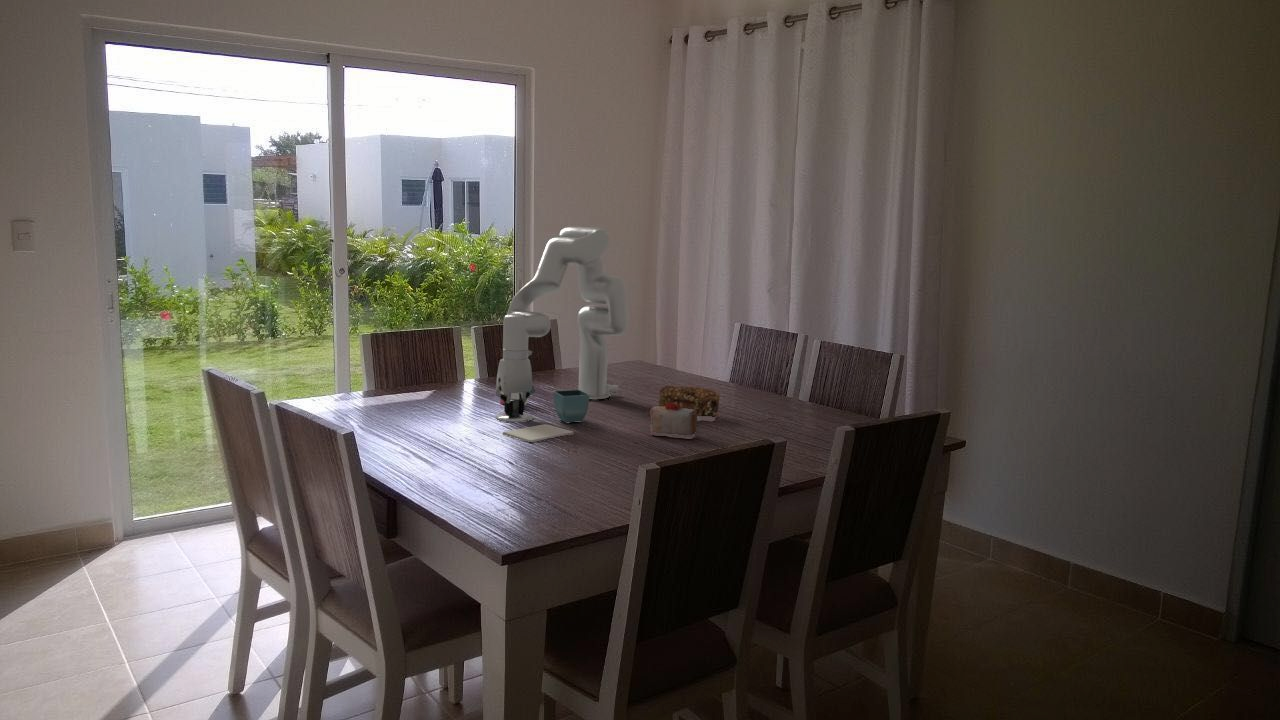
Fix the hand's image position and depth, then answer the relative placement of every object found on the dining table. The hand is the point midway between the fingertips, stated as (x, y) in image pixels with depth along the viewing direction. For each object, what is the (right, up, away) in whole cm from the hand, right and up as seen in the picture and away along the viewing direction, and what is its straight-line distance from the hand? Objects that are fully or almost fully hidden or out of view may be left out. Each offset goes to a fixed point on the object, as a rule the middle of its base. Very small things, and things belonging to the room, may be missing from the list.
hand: (514, 414), depth 283 cm
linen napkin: (+9, -5, -18) cm, 21 cm away
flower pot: (+17, -2, -1) cm, 17 cm away
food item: (+48, -6, -13) cm, 50 cm away
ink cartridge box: (-3, +2, +22) cm, 22 cm away
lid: (0, -1, 0) cm, 1 cm away
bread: (+54, -2, +11) cm, 55 cm away
